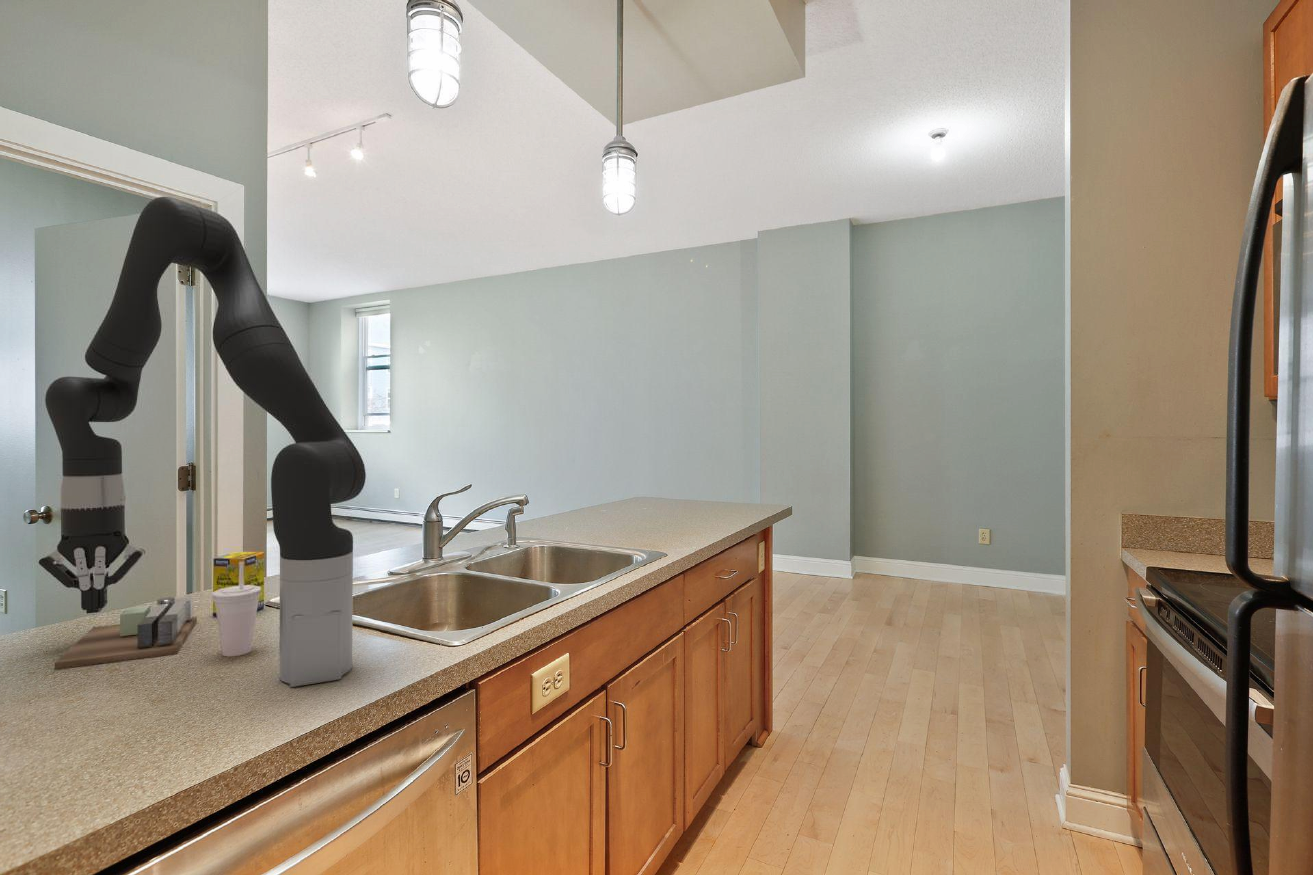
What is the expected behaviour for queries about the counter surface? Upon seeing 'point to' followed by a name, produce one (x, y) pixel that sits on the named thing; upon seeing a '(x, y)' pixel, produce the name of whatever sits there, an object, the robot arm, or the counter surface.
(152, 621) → the bar
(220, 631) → the smoothie
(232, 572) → the supplement box
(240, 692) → the counter surface
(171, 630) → the fixed jaw
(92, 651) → the walnut board
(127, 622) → the tab
